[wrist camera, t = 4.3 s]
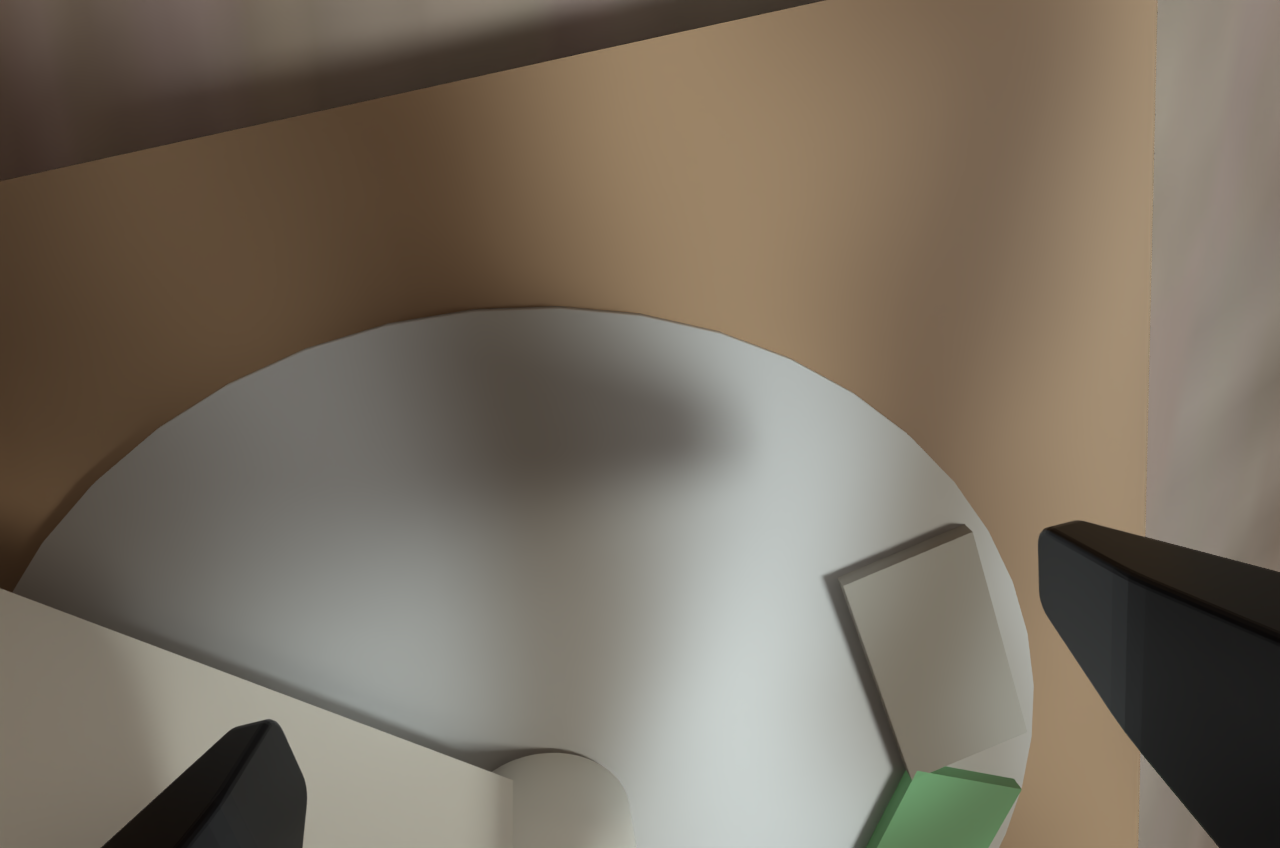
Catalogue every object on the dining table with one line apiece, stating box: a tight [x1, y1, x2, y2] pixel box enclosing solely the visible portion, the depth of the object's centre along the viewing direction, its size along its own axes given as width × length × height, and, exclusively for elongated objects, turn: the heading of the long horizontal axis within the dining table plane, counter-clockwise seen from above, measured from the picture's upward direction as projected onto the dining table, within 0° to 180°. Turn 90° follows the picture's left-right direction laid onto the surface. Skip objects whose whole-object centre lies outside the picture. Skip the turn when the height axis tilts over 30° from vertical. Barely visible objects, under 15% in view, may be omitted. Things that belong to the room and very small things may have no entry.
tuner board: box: [0, 0, 1157, 848], centre depth 14 cm, size 20×21×2 cm
